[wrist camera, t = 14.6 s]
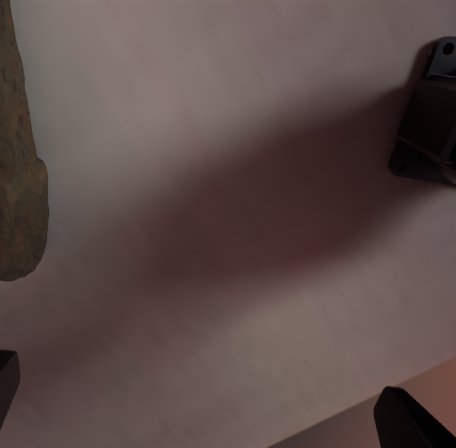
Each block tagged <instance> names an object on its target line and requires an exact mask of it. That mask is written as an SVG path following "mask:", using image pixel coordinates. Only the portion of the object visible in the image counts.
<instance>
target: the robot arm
mask: <svg viewBox="0 0 456 448" xmlns="http://www.w3.org/2000/svg"><path fill="white" fill-rule="evenodd" d="M447 43H448V45H449V50H448V52H447V53H446V54H443V47H444V46H445V44H447ZM397 135H398V137H399V138H398V141H397V143H396V146H395V149H394V151H393V154H392V156H391V159H390V162H389V166H388V167H389V170H390V172H391V173H393V174H394V175H396V176H399V177H406V178H412V179H418V180H424V181H431V182H437V183H443V184H449V185H455V186H456V37H442V38H440V39H439V40H437V41H436V43H435V44H434V46H433V48H432V51H431V54H430V56H429V59H428V62H427V64H426V67H425V69H424V72H423V75H422V77H421V80H420V81H419V82H417V83H416V85H415V87H414V90H413V93H412V95H411V98H410V101H409V103H408V106H407V109H406V111H405V114H404V117H403V119H402V122H401V125H400V127H399V130H398V133H397ZM401 162H403V166H402V167H401V168H400V169H396V168H397V165H398V164H399V163H401ZM19 382H20V369H19V360H18V354H17V352H16V351H12V350H0V430H1V427H2V425H3V422H4V420H5V417H6V415H7V412H8V410H9V408H10V405H11V403H12V400H13V398H14V395H15V393H16V390H17V388H18V385H19ZM374 419H375V424H376V429H377V432H378V437H379V442H380V446H381V448H456V437H455V436H454V435H453V434H452V433H450V431H448V430H447V429H446V428H445V427H444V426H443V425H442V424H441V423H440V422H439V421H438V420H437V419H436V418H434V417H433V416H432V415H431V414H430V413H429V412H428V411H427V410H426V409H425V408H424V407H423V406H422V405H420V404H419V403H418V402H417V401H416V400H415V399H414V398H413V397H412V396H411V395H409V393H408V392H406V391H405V390H404V389H402V388H400V387H392V386H386V387H385V388H384V389H383V390H382V392H381V394H380V396H379V398H378V400H377V402H376V404H375V406H374Z"/></svg>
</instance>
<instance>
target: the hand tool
mask: <svg viewBox="0 0 456 448" xmlns="http://www.w3.org/2000/svg"><path fill="white" fill-rule="evenodd" d="M48 217H49V207H48V173H47V169H46V166H45V163H44V161H42V160H41V159H39V158H38V157H37V155H36V148H35V143H34V139H33V134H32V127H31V121H30V113H29V107H28V102H27V97H26V92H25V78H24V71H23V65H22V60H21V57H20V54H19V51H18V47H17V43H16V37H15V31H14V25H13V20H12V15H11V8H10V0H0V281H5V282H6V281H14V280H16V279H18V278H21V277H25V276H26V275H27V274H29V273H30V272H33V271H34V270H35V269H36V266H37V264H38V263H39V262H40V261H41V259H42V256H43V253H44V250H45V245H46V241H47V231H48Z"/></svg>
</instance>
